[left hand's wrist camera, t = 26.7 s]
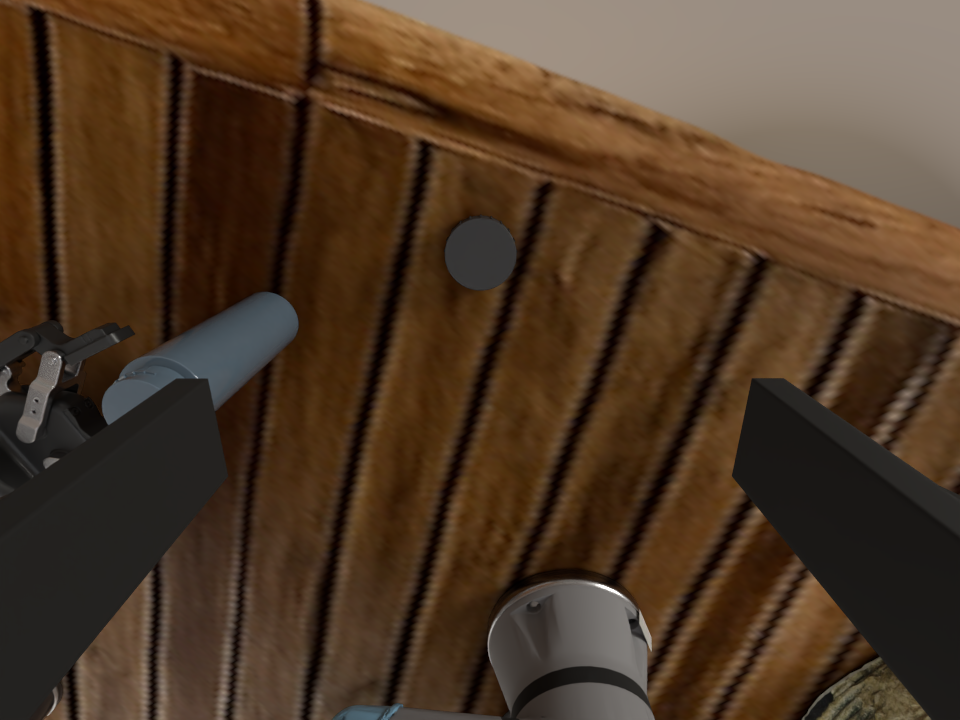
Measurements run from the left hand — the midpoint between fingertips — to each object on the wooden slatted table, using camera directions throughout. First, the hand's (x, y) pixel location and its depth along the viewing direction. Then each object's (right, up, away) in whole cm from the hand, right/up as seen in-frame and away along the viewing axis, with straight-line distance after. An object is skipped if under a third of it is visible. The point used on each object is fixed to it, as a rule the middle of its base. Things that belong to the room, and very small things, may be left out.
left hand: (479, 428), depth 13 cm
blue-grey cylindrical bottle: (-16, +5, +27) cm, 32 cm away
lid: (0, +9, +23) cm, 25 cm away
